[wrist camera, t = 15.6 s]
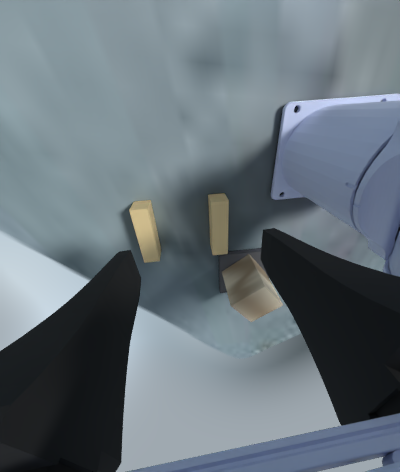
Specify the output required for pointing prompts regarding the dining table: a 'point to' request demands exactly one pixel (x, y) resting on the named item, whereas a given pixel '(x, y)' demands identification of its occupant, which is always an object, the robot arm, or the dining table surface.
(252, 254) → the rubber mat
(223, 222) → the pair of wooden bars
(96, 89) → the dining table surface
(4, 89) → the dining table surface
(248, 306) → the plug block
